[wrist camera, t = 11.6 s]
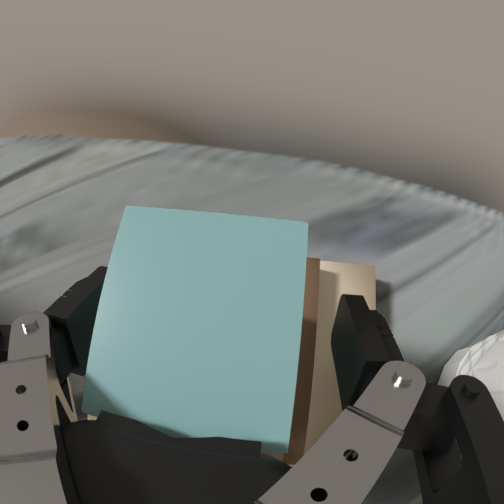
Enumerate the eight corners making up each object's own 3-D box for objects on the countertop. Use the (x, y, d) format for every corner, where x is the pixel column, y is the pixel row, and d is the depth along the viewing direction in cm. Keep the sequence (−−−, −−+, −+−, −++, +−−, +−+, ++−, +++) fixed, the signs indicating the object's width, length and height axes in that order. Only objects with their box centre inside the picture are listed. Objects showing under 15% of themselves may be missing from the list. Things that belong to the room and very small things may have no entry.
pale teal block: (183, 394, 16) (81, 411, 5) (197, 307, 17) (126, 205, 7) (265, 406, 15) (287, 453, 5) (275, 317, 17) (308, 222, 7)
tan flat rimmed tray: (101, 423, 16) (74, 429, 13) (131, 252, 21) (112, 230, 18) (352, 457, 16) (372, 471, 12) (364, 276, 20) (384, 257, 17)
